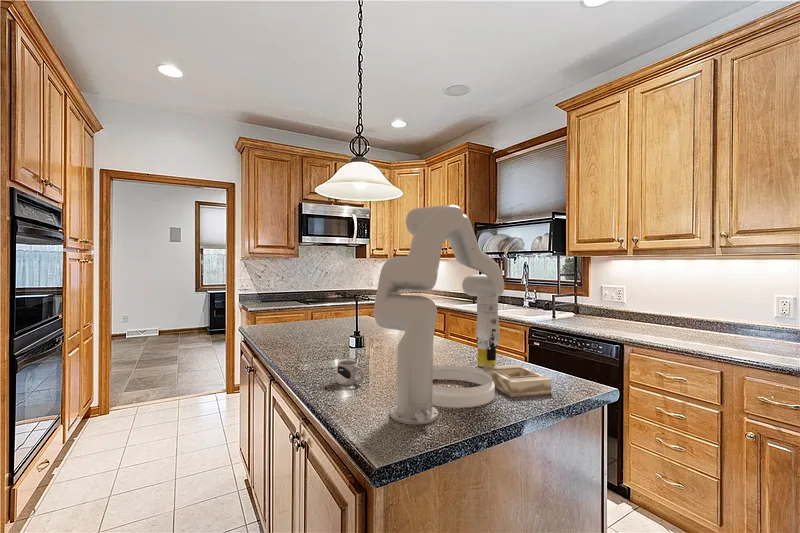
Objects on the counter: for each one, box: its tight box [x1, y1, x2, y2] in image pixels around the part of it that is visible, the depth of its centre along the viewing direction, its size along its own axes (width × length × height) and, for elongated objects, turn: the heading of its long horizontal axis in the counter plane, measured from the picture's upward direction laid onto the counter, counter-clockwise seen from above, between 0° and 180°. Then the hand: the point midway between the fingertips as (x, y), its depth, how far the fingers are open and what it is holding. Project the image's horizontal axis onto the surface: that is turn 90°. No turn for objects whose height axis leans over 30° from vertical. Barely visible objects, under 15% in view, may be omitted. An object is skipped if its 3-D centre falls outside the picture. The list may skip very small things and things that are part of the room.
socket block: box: [483, 364, 552, 398], centre depth 129 cm, size 18×14×5 cm
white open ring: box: [432, 364, 496, 409], centre depth 123 cm, size 27×27×6 cm
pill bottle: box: [476, 337, 496, 371], centre depth 143 cm, size 6×6×12 cm
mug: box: [336, 360, 365, 386], centre depth 130 cm, size 10×7×7 cm, turn 61°
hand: (486, 357), depth 143 cm, fingers closed on pill bottle, 6 cm apart
